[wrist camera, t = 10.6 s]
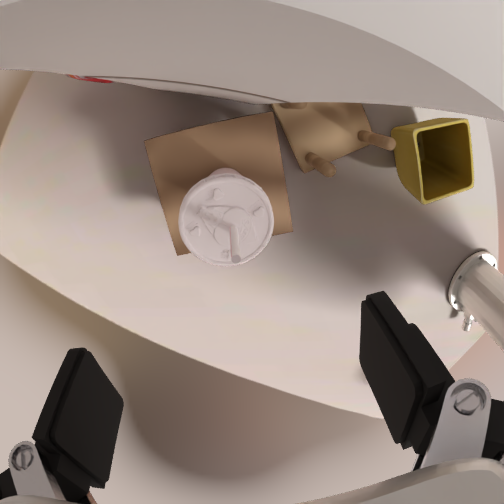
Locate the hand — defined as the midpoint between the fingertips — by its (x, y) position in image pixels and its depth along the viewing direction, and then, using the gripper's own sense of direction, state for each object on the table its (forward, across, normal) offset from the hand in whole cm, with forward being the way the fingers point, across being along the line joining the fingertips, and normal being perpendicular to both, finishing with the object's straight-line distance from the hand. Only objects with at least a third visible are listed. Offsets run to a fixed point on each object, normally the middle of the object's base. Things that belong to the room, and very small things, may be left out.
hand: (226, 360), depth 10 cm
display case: (+30, -2, -14) cm, 34 cm away
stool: (+30, 0, 0) cm, 30 cm away
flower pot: (+31, -25, +1) cm, 39 cm away
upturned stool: (+30, -13, -4) cm, 33 cm away
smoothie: (+22, 0, 0) cm, 22 cm away
